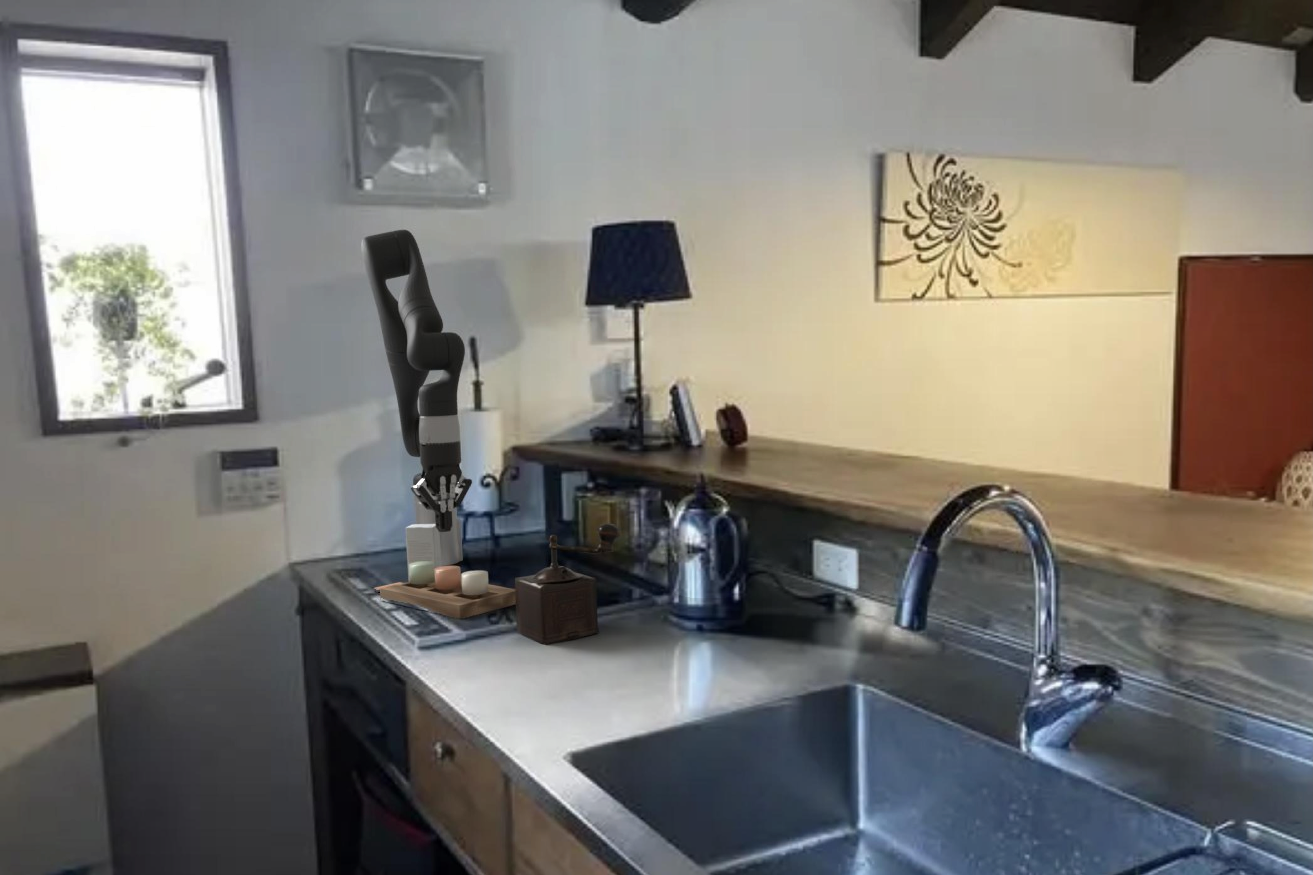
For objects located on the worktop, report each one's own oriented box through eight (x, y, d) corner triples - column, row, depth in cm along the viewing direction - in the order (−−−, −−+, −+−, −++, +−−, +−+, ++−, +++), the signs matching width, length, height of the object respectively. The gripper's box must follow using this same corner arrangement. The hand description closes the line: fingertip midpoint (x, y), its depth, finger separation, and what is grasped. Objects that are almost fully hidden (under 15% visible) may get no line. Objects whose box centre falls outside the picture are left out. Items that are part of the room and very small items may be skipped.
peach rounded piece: (450, 582, 203) (449, 564, 203) (466, 585, 200) (465, 567, 200) (430, 587, 199) (429, 569, 199) (446, 590, 196) (445, 572, 196)
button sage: (425, 577, 208) (424, 560, 208) (440, 580, 205) (439, 562, 205) (404, 582, 205) (403, 564, 204) (419, 585, 201) (418, 567, 201)
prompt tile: (399, 586, 215) (399, 582, 215) (417, 589, 211) (417, 585, 211) (374, 591, 211) (374, 587, 211) (392, 595, 207) (391, 591, 207)
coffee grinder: (546, 646, 168) (541, 535, 166) (514, 632, 177) (510, 526, 176) (628, 629, 177) (624, 523, 175) (594, 616, 186) (590, 515, 184)
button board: (439, 587, 213) (439, 574, 213) (519, 603, 197) (518, 590, 197) (380, 601, 202) (379, 588, 202) (459, 619, 187) (459, 605, 187)
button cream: (477, 587, 198) (476, 569, 197) (494, 591, 195) (493, 572, 194) (456, 592, 194) (456, 574, 194) (473, 596, 191) (472, 577, 191)
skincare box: (443, 580, 219) (440, 523, 218) (436, 584, 215) (433, 526, 214) (414, 580, 220) (411, 523, 219) (407, 585, 216) (404, 527, 215)
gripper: (455, 436, 205) (459, 524, 206) (398, 441, 195) (402, 534, 196) (480, 437, 200) (484, 528, 201) (423, 443, 190) (427, 538, 191)
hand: (444, 531), depth 199 cm, fingers closed
